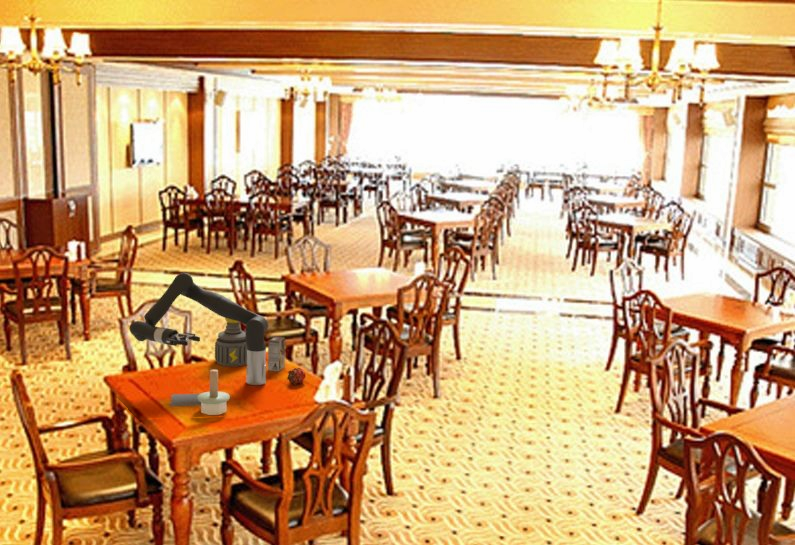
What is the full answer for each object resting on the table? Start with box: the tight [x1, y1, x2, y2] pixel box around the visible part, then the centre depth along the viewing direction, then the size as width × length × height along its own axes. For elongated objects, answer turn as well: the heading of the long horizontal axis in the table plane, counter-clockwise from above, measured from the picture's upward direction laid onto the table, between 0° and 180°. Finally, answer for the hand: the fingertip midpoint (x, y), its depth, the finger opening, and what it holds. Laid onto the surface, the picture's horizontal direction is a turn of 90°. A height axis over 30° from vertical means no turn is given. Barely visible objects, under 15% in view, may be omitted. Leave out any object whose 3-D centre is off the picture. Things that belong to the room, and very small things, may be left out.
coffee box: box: [267, 336, 286, 372], centre depth 449 cm, size 9×6×16 cm
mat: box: [170, 393, 201, 407], centre depth 397 cm, size 16×16×1 cm
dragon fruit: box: [287, 367, 307, 385], centre depth 429 cm, size 8×8×12 cm
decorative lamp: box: [214, 317, 247, 368], centre depth 456 cm, size 19×19×30 cm
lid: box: [198, 369, 231, 404], centre depth 383 cm, size 14×14×13 cm
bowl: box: [200, 401, 228, 416], centre depth 385 cm, size 11×11×6 cm
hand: (193, 341), depth 397 cm, fingers open, 8 cm apart
